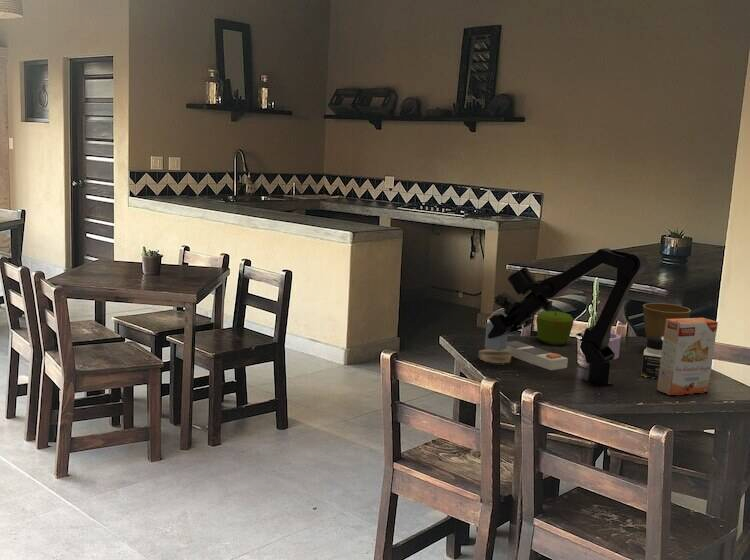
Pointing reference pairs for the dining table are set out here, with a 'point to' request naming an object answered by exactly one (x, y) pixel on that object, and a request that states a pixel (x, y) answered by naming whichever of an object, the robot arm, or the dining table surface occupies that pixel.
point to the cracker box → (686, 356)
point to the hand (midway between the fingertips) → (492, 336)
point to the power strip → (536, 356)
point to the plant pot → (661, 316)
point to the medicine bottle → (652, 357)
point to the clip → (613, 342)
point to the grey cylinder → (495, 340)
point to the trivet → (494, 356)
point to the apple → (554, 327)
